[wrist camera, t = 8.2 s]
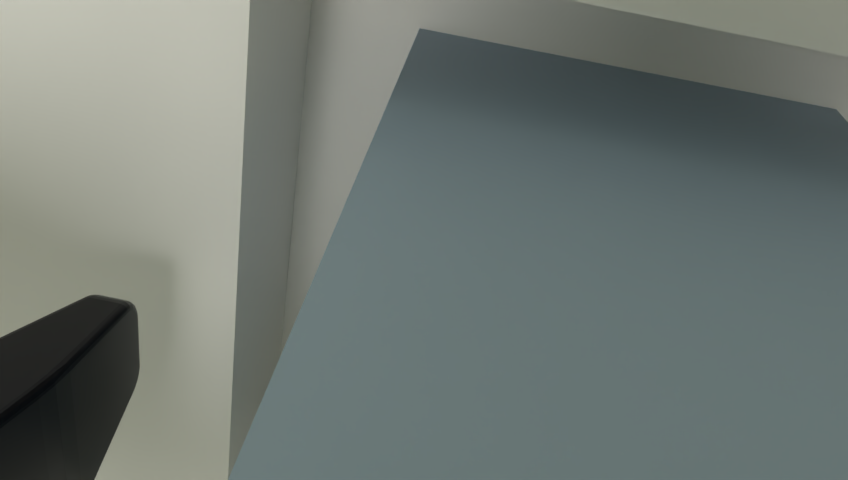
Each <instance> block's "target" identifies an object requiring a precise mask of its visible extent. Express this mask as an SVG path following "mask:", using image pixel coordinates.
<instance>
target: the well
mask: <svg viewBox="0 0 848 480" xmlns="http://www.w3.org/2000/svg"><path fill="white" fill-rule="evenodd" d="M419 28H421V29H426V30H431V31H436V32H441V33H447V34H452V35H457V36H462V37H467V38H472V39H477V40H483V41H488V42H493V43H498V44H503V45H508V46H514V47H519V48H524V49H529V50H534V51H539V52H544V53H550V54H555V55H560V56H565V57H570V58H575V59H580V60H586V61H591V62H596V63H601V64H606V65H611V66H616V67H622V68H627V69H632V70H637V71H642V72H647V73H652V74H658V75H663V76H668V77H673V78H678V79H683V80H688V81H694V82H699V83H704V84H709V85H714V86H719V87H724V88H730V89H735V90H740V91H745V92H750V93H755V94H760V95H766V96H771V97H776V98H781V99H786V100H791V101H796V102H802V103H807V104H812V105H817V106H822V107H827V108H833V109H837V111H838V112H839V113H840V114H841V115H842V116H843V117H844V119H845V120H846V121H847V122H848V0H0V337H2V336H4V335H6V334H8V333H10V332H13V331H15V330H17V329H19V328H21V327H23V326H25V325H27V324H29V323H31V322H34V321H36V320H38V319H40V318H42V317H44V316H46V315H48V314H50V313H52V312H55V311H57V310H59V309H61V308H63V307H65V306H67V305H69V304H71V303H73V302H76V301H78V300H80V299H82V298H84V297H87V296H89V295H103V296H108V297H113V298H117V299H122V300H127V301H130V302H131V303H133V304H134V305H135V307H136V310H137V313H138V330H139V355H140V370H139V376H138V381H137V384H136V387H135V389H134V392H133V394H132V396H131V399H130V401H129V403H128V405H127V408H126V410H125V412H124V414H123V417H122V419H121V421H120V423H119V426H118V428H117V430H116V432H115V435H114V437H113V439H112V441H111V444H110V446H109V448H108V450H107V453H106V455H105V457H104V459H103V462H102V464H101V466H100V468H99V471H98V473H97V475H96V477H95V480H228V478H229V476H230V474H231V471H232V469H233V467H234V464H235V462H236V460H237V457H238V455H239V453H240V450H241V448H242V445H243V443H244V441H245V438H246V436H247V434H248V431H249V429H250V427H251V424H252V422H253V420H254V417H255V415H256V412H257V410H258V408H259V405H260V403H261V401H262V398H263V396H264V394H265V391H266V389H267V387H268V384H269V382H270V380H271V377H272V375H273V372H274V370H275V368H276V365H277V363H278V361H279V358H280V356H281V354H282V351H283V349H284V347H285V344H286V342H287V339H288V337H289V335H290V332H291V330H292V328H293V325H294V323H295V321H296V318H297V316H298V314H299V311H300V309H301V306H302V304H303V302H304V299H305V297H306V295H307V292H308V290H309V288H310V285H311V283H312V281H313V278H314V276H315V273H316V271H317V269H318V266H319V264H320V262H321V259H322V257H323V255H324V252H325V250H326V248H327V245H328V243H329V241H330V238H331V236H332V233H333V231H334V229H335V226H336V224H337V222H338V219H339V217H340V215H341V212H342V210H343V208H344V205H345V203H346V200H347V198H348V196H349V193H350V191H351V189H352V186H353V184H354V182H355V179H356V177H357V175H358V172H359V170H360V167H361V165H362V163H363V160H364V158H365V156H366V153H367V151H368V149H369V146H370V144H371V142H372V139H373V137H374V134H375V132H376V130H377V127H378V125H379V123H380V120H381V118H382V116H383V113H384V111H385V109H386V106H387V104H388V102H389V99H390V97H391V94H392V92H393V90H394V87H395V85H396V83H397V80H398V78H399V76H400V73H401V71H402V69H403V66H404V64H405V61H406V59H407V57H408V54H409V52H410V50H411V47H412V45H413V43H414V40H415V38H416V36H417V33H418V31H419Z"/></svg>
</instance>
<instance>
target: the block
mask: <svg viewBox="0 0 848 480" xmlns="http://www.w3.org/2000/svg"><path fill="white" fill-rule="evenodd" d="M228 480H848V122H847V121H846V120H845V119H844V117H843V116H842V115H841V114H840V113H839V112H838V111H837V109H833V108H827V107H822V106H817V105H812V104H807V103H802V102H796V101H791V100H786V99H781V98H776V97H771V96H766V95H760V94H755V93H750V92H745V91H740V90H735V89H730V88H724V87H719V86H714V85H709V84H704V83H699V82H694V81H688V80H683V79H678V78H673V77H668V76H663V75H658V74H652V73H647V72H642V71H637V70H632V69H627V68H622V67H616V66H611V65H606V64H601V63H596V62H591V61H586V60H580V59H575V58H570V57H565V56H560V55H555V54H550V53H544V52H539V51H534V50H529V49H524V48H519V47H514V46H508V45H503V44H498V43H493V42H488V41H483V40H477V39H472V38H467V37H462V36H457V35H452V34H447V33H441V32H436V31H431V30H426V29H421V28H419V31H418V33H417V36H416V38H415V40H414V43H413V45H412V47H411V50H410V52H409V54H408V57H407V59H406V61H405V64H404V66H403V69H402V71H401V73H400V76H399V78H398V80H397V83H396V85H395V87H394V90H393V92H392V94H391V97H390V99H389V102H388V104H387V106H386V109H385V111H384V113H383V116H382V118H381V120H380V123H379V125H378V127H377V130H376V132H375V134H374V137H373V139H372V142H371V144H370V146H369V149H368V151H367V153H366V156H365V158H364V160H363V163H362V165H361V167H360V170H359V172H358V175H357V177H356V179H355V182H354V184H353V186H352V189H351V191H350V193H349V196H348V198H347V200H346V203H345V205H344V208H343V210H342V212H341V215H340V217H339V219H338V222H337V224H336V226H335V229H334V231H333V233H332V236H331V238H330V241H329V243H328V245H327V248H326V250H325V252H324V255H323V257H322V259H321V262H320V264H319V266H318V269H317V271H316V273H315V276H314V278H313V281H312V283H311V285H310V288H309V290H308V292H307V295H306V297H305V299H304V302H303V304H302V306H301V309H300V311H299V314H298V316H297V318H296V321H295V323H294V325H293V328H292V330H291V332H290V335H289V337H288V339H287V342H286V344H285V347H284V349H283V351H282V354H281V356H280V358H279V361H278V363H277V365H276V368H275V370H274V372H273V375H272V377H271V380H270V382H269V384H268V387H267V389H266V391H265V394H264V396H263V398H262V401H261V403H260V405H259V408H258V410H257V412H256V415H255V417H254V420H253V422H252V424H251V427H250V429H249V431H248V434H247V436H246V438H245V441H244V443H243V445H242V448H241V450H240V453H239V455H238V457H237V460H236V462H235V464H234V467H233V469H232V471H231V474H230V476H229V478H228Z"/></svg>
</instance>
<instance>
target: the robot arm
mask: <svg viewBox="0 0 848 480" xmlns="http://www.w3.org/2000/svg"><path fill="white" fill-rule="evenodd" d="M139 370H140V355H139V330H138V313H137V310H136V307H135V305H134V304H133V303H131V302H130V301H127V300H122V299H117V298H113V297H108V296H103V295H89V296H87V297H84V298H82V299H80V300H78V301H76V302H73V303H71V304H69V305H67V306H65V307H63V308H61V309H59V310H57V311H55V312H52V313H50V314H48V315H46V316H44V317H42V318H40V319H38V320H36V321H34V322H31V323H29V324H27V325H25V326H23V327H21V328H19V329H17V330H15V331H13V332H10V333H8V334H6V335H4V336H2V337H0V480H95V477H96V475H97V473H98V471H99V468H100V466H101V464H102V462H103V459H104V457H105V455H106V453H107V450H108V448H109V446H110V444H111V441H112V439H113V437H114V435H115V432H116V430H117V428H118V426H119V423H120V421H121V419H122V417H123V414H124V412H125V410H126V408H127V405H128V403H129V401H130V399H131V396H132V394H133V392H134V389H135V387H136V384H137V381H138V376H139Z"/></svg>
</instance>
